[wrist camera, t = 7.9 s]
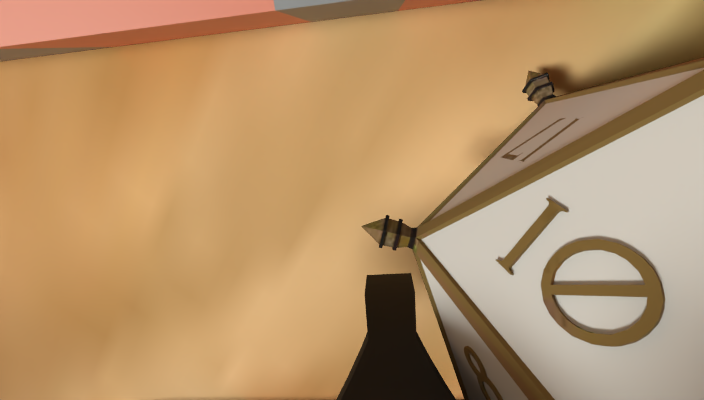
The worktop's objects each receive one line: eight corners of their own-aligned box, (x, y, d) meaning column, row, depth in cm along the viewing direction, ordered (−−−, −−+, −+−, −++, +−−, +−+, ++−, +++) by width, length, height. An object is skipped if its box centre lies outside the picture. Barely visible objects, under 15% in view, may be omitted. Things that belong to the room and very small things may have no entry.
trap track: (768, 420, 12) (879, 527, 10) (146, 418, 15) (95, 501, 12) (1172, -170, 6) (1920, -369, 3) (-92, 16, 8) (-320, 5, 6)
